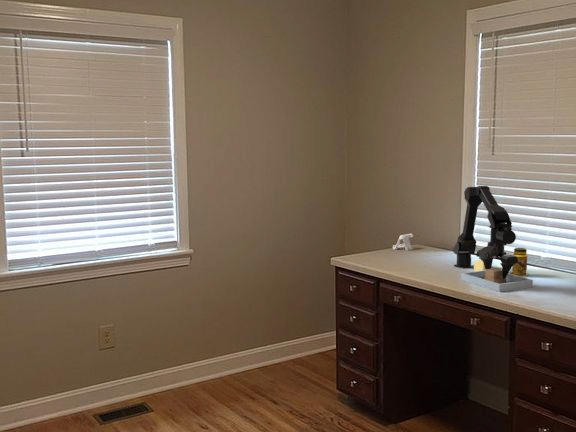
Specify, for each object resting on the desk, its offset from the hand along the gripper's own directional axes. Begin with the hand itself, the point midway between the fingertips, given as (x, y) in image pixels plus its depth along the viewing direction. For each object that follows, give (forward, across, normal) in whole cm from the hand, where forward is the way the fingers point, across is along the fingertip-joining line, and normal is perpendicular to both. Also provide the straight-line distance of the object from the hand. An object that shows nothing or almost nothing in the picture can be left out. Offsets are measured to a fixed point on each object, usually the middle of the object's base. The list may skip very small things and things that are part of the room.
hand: (496, 276), depth 276 cm
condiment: (+3, -8, +20) cm, 22 cm away
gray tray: (+3, 0, 0) cm, 3 cm away
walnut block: (+3, 0, 0) cm, 3 cm away
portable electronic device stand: (+3, -81, +11) cm, 82 cm away
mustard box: (+3, -19, +10) cm, 22 cm away
